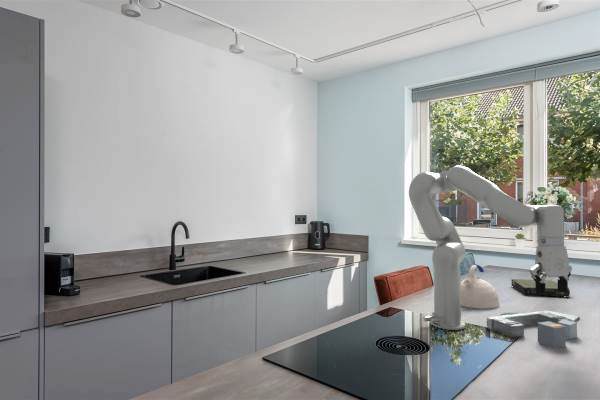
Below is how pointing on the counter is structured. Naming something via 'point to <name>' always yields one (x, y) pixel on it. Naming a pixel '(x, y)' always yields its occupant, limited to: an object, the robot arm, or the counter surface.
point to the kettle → (478, 292)
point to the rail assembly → (520, 322)
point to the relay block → (569, 328)
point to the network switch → (529, 287)
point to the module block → (552, 334)
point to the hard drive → (572, 317)
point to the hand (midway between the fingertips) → (551, 293)
